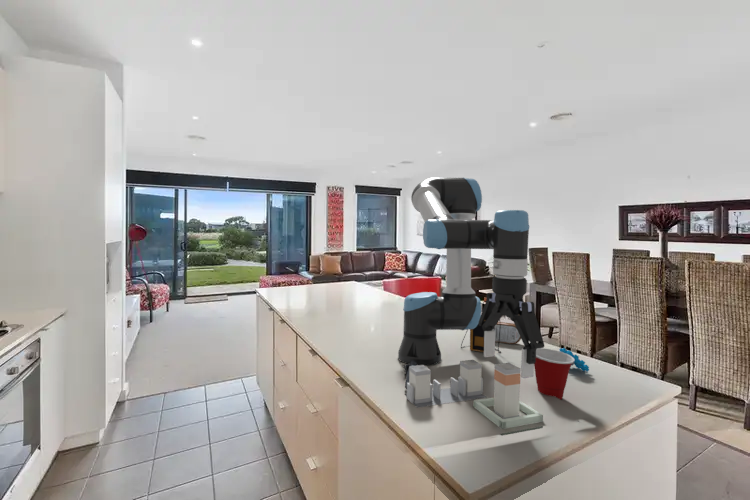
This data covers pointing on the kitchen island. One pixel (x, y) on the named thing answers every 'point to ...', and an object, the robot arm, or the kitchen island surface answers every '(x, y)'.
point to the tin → (506, 333)
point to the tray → (509, 422)
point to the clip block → (445, 393)
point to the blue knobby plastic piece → (576, 360)
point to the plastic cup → (552, 371)
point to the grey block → (420, 383)
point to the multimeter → (478, 338)
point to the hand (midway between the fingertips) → (506, 365)
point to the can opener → (406, 368)
